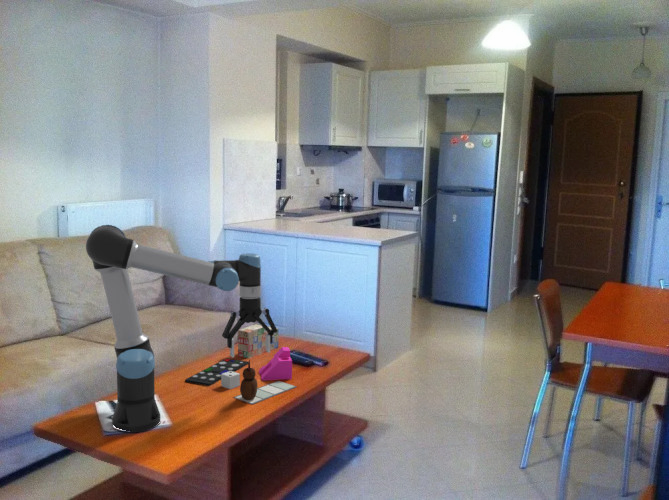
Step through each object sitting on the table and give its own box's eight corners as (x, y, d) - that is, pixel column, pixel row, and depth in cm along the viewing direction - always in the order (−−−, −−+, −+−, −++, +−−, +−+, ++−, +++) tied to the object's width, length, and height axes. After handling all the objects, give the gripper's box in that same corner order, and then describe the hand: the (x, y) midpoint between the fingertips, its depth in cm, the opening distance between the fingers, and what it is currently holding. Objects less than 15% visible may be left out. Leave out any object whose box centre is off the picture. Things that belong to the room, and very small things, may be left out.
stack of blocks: (268, 345, 297) (268, 320, 295) (278, 347, 294) (279, 322, 292) (237, 356, 279) (237, 329, 278) (248, 358, 276) (248, 331, 274)
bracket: (287, 370, 262) (288, 347, 261) (291, 379, 252) (292, 354, 251) (258, 372, 259) (259, 348, 258) (262, 380, 249) (262, 355, 248)
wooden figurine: (253, 402, 226) (253, 362, 224) (238, 400, 227) (238, 360, 225) (259, 395, 232) (259, 356, 230) (244, 394, 234) (244, 355, 231)
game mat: (252, 404, 224) (252, 404, 224) (233, 397, 230) (233, 397, 230) (296, 387, 243) (296, 386, 243) (278, 380, 249) (278, 380, 249)
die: (230, 389, 239) (230, 376, 238) (221, 386, 242) (221, 373, 241) (239, 386, 243) (239, 373, 242) (230, 383, 246) (231, 370, 245)
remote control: (248, 365, 269) (248, 360, 269) (209, 387, 241) (209, 382, 241) (226, 361, 273) (226, 356, 273) (185, 383, 245) (185, 378, 245)
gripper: (219, 302, 215) (219, 361, 219) (286, 296, 227) (285, 352, 230) (213, 297, 222) (213, 355, 225) (278, 292, 233) (278, 347, 236)
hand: (250, 354), depth 227 cm, fingers open, 13 cm apart
